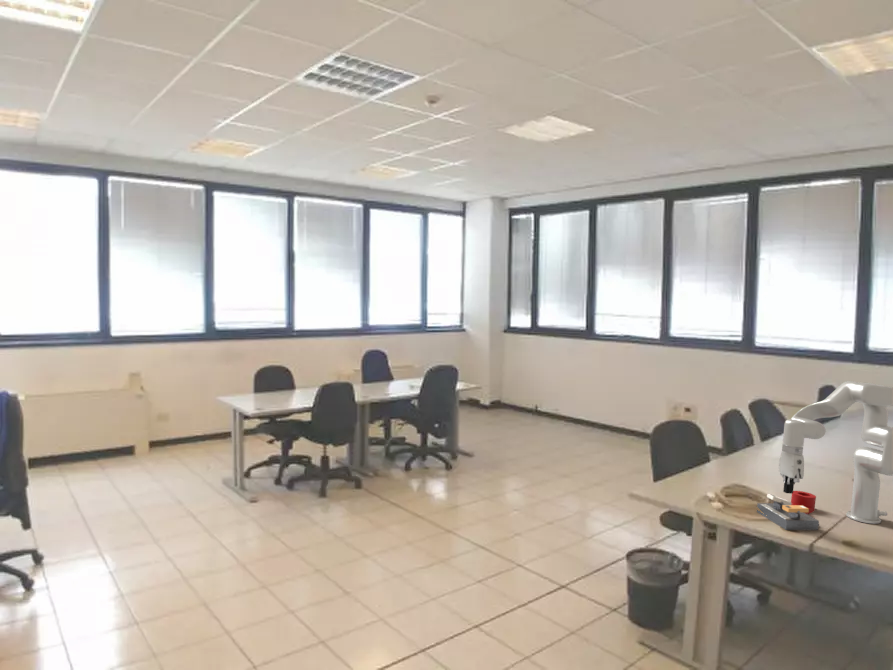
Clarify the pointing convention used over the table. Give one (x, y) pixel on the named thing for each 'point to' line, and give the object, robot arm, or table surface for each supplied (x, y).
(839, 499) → the table surface
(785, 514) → the breaker strip
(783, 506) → the breaker lever
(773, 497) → the block
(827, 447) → the table surface
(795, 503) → the lever
